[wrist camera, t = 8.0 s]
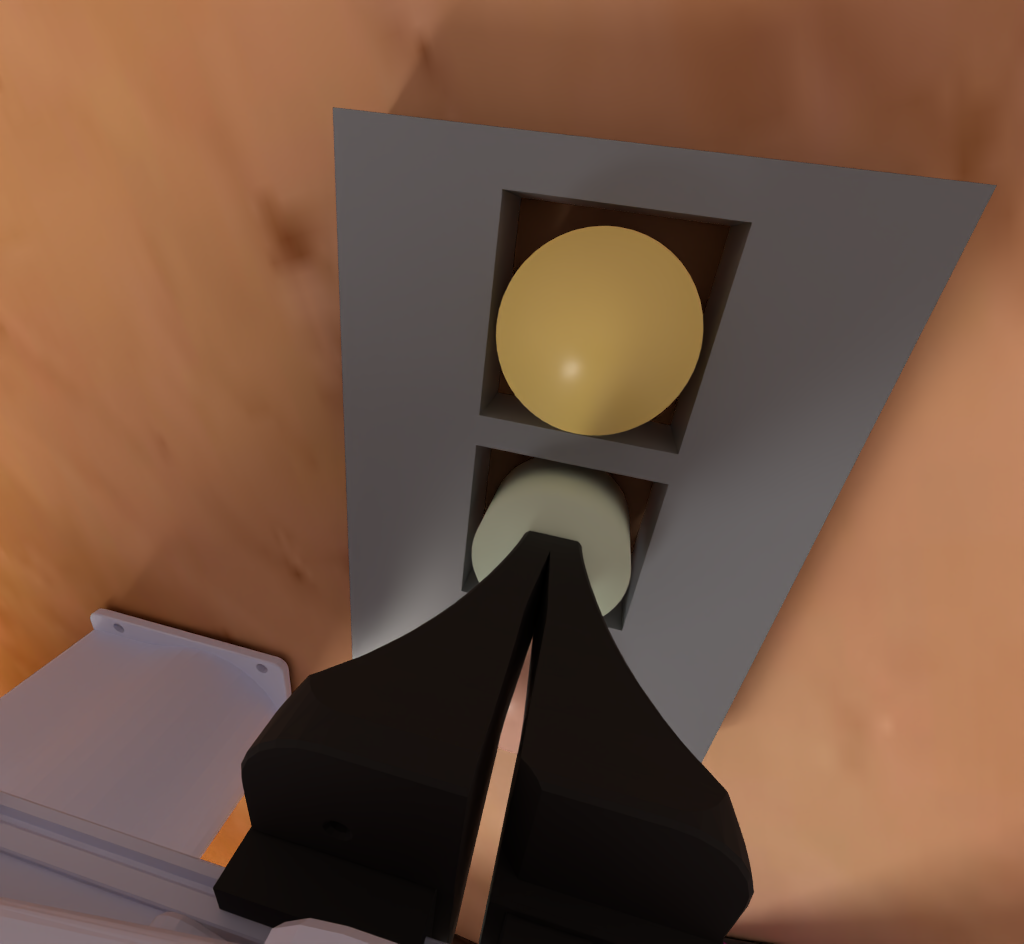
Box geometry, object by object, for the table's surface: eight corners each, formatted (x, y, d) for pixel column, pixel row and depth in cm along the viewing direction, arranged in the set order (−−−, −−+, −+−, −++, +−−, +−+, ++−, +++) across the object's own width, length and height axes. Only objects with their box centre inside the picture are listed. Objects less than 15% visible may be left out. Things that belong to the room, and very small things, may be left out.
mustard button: (508, 386, 13) (486, 415, 10) (530, 217, 11) (509, 211, 9) (660, 415, 12) (669, 452, 10) (710, 243, 10) (734, 242, 8)
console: (378, 662, 19) (354, 705, 18) (378, 129, 11) (332, 107, 9) (676, 744, 18) (683, 799, 16) (928, 195, 10) (996, 185, 8)
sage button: (487, 556, 15) (465, 607, 13) (502, 442, 13) (479, 479, 11) (612, 585, 15) (610, 643, 13) (644, 471, 13) (649, 515, 11)
